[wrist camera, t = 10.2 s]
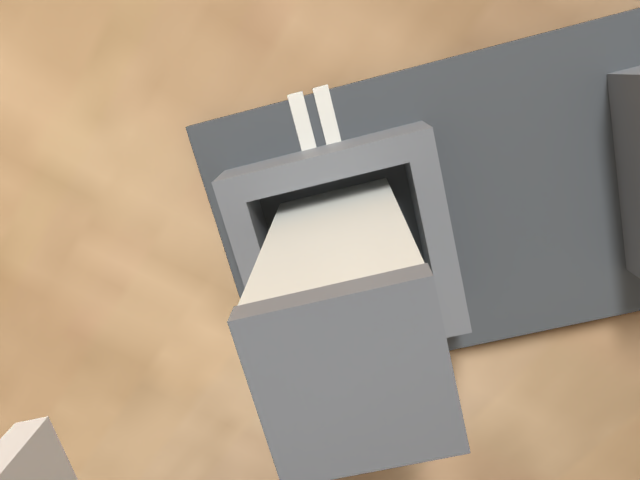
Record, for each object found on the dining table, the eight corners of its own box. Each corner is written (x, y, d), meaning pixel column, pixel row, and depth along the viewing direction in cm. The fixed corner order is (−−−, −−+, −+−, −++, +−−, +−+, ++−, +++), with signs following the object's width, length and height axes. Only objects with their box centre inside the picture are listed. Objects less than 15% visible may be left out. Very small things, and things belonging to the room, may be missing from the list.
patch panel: (187, 120, 22) (165, 128, 19) (849, -54, 20) (940, -75, 17) (270, 381, 26) (261, 421, 23) (844, 260, 23) (918, 288, 20)
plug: (278, 202, 23) (227, 321, 12) (386, 176, 22) (433, 275, 12) (312, 321, 24) (293, 520, 14) (414, 299, 24) (477, 486, 13)
